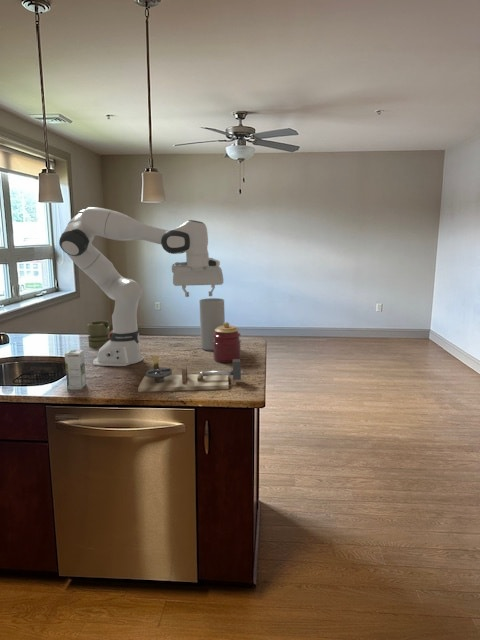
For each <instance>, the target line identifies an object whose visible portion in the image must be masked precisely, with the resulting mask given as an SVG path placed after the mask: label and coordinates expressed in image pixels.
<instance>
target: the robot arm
mask: <svg viewBox="0 0 480 640" xmlns="http://www.w3.org/2000/svg"><path fill="white" fill-rule="evenodd" d="M208 233H209V232H208V228H207V225H206V224H205V223H204V222H203V221H200V220H193V219H188V220H186V221H185V222H184V223H183V224H181V225H178V226H177V227H174V228H172V229H164V228H159V227H156V226H152V225H148V224H145V223H143V222H140V221H138V220H137V219H135V218H133V217H131V216H129V215H127V214H125V213H122V212H120V211H116V210H113V209H108V208H103V207H97V206H96V207H94V206H89V207H86V208H85V209H81V210H79V211H77V212H76V213H75V215H74V217H72V218H71V220H69V222H68V223H67V226H66V227H65V229H64V231H63V232H62V233H61V235H60V237H59V242H58V244H59V245H58V246H60V249H61V250H62V251H63V252H64V253H65V254H66V255H67V256H68V257H69V258H70V260H71V261H72V262H73V263H74V264H75V265H76V266H77V267H78V268H79V269H80V270H81V271H82V272H84V273H85V274H86V276H88V277H89V278H90V279H91V280H92V281H93V282H95V284H96V285H97V286H98V287H99V289H101V291H102V292H104V294H105V295H106V296H107V297H108V298H110V299H111V300H112V301H114V309H113V313H112V314H111V322H112V330H111V331H110V333H108V334H109V335H108V336H109V339H110V340H109V341H108V342H107V343H105V344H104V345H103V346H102V347H99V349H98V353H97V357H95V358H94V359H93V361H92V364H93V366H99V367H100V366H101V367H105V366H106V367H108V366H109V367H126V366H129V365H133V364H137V363H140V362H142V361H143V359H144V358H143V355H142V351H141V348H140V333H139V332H140V331H139V329H138V315H137V314H138V313H137V312H138V307H139V301H140V299H141V298H142V296H143V289H142V286H141V285H140V283H138V282H137V281H136V280H134V279H132V278H127V277H124V276H122V275H121V274H120V273H119V272H118V271H117V269H116V268H115V266H114V263H112V261H111V260H109V259H108V258H107V257H106V256H105V255H104V254H103V253H102V252H101V251H99V249H97V247H95V246H94V245H93V241H94V239H95V236H96V237H97V236H98V237H102V238H105V239H109V240H113V241H119V242H120V241H121V242H122V241H125V242H126V241H146V242H149V243H152V244H153V243H154V244H156V245H161V247H162V249H163V250H164V251H165V252H167V253H168V254H172V255H178V254H184V253H185V255H186V256H185V257H186V260H185V261H184V262H183V261H182V262H181V261H180V262H178V261H177V262H175V263H173V264H172V265H171V272H172V273H173V275H172V284H173V286H175V287H181V289H182V291H183V292H184V295H185V297H186V298H189V297H190V292H189V291H187V290H186V288H187V286H188V287H189V286H210V287H211V290H210V291H208V297H213V292H214V289H215V288H216V286H219V285H220V286H222V285H223V284H224V275H223V270H222V268H221V267H220V263H221V261H220V260H218V259H216V258H213V257H210V254H209V250H208V246H209V235H208Z"/></svg>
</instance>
